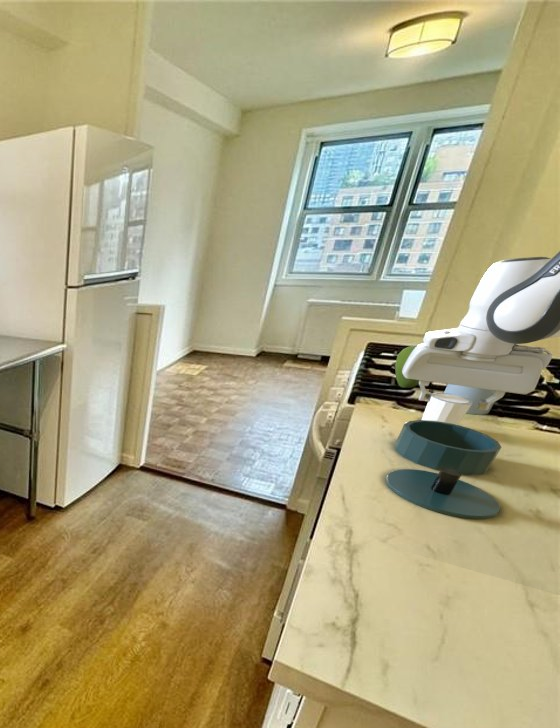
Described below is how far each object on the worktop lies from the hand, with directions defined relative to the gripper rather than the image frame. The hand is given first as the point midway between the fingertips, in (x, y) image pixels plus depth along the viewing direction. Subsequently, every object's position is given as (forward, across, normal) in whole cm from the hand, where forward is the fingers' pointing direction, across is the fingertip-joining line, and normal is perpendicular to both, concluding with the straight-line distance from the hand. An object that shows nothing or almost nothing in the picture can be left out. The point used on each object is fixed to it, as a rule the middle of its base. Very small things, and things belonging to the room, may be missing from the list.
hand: (451, 404), depth 105 cm
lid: (+5, +4, +36) cm, 37 cm away
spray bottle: (+6, -6, -18) cm, 20 cm away
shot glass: (+6, +1, 0) cm, 6 cm away
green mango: (+6, +4, -28) cm, 29 cm away
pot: (+6, +2, +19) cm, 20 cm away
